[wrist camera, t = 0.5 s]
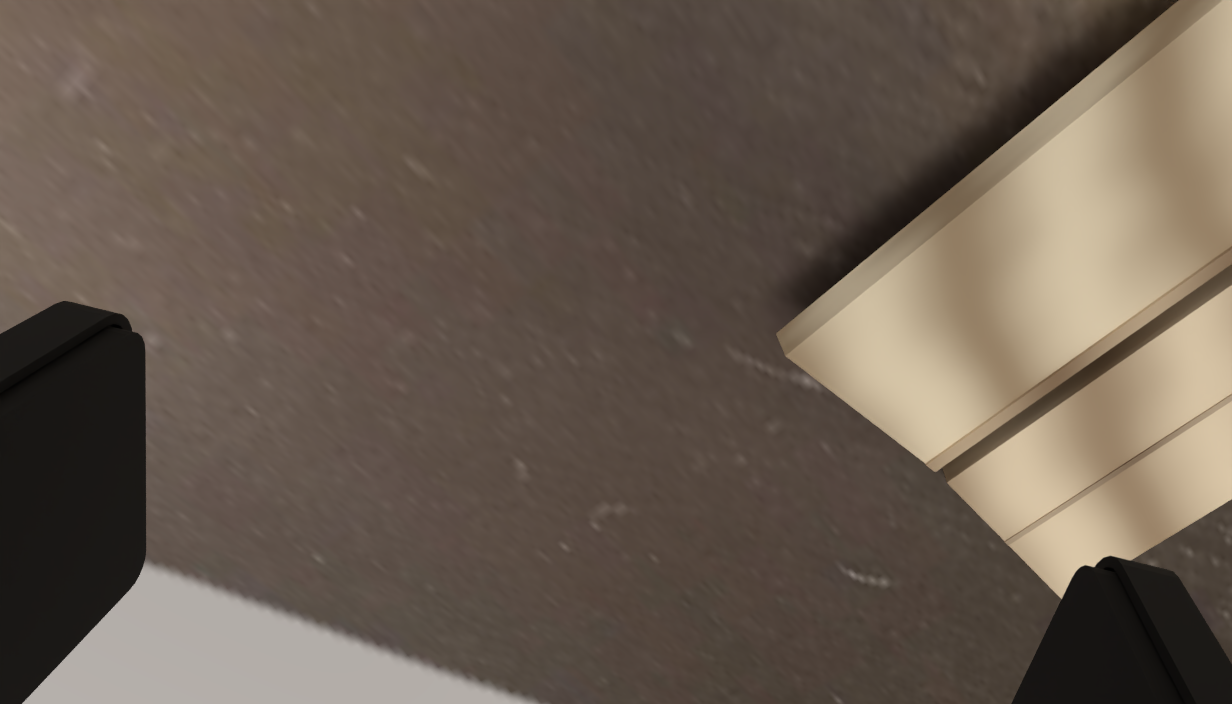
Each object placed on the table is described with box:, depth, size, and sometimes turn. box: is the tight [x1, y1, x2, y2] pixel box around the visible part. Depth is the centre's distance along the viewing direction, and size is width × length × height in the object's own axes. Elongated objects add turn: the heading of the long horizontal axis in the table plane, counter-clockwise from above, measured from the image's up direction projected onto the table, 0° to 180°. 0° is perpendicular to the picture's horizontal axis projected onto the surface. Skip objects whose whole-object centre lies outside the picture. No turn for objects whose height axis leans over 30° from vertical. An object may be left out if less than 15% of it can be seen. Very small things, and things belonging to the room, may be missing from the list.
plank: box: [776, 0, 1232, 472], centre depth 31 cm, size 26×9×1 cm, turn 136°
